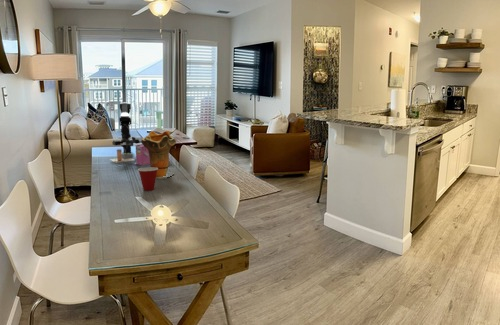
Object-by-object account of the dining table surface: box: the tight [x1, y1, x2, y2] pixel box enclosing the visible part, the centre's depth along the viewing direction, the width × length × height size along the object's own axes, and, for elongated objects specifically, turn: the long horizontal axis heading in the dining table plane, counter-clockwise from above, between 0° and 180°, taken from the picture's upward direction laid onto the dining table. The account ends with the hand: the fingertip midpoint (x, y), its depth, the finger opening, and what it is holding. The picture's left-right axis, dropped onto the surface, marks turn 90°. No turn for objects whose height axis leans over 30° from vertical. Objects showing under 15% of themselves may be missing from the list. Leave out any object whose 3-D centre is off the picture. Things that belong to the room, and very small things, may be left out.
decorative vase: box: [140, 130, 177, 180], centre depth 246 cm, size 21×23×28 cm
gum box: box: [135, 143, 151, 166], centre depth 285 cm, size 24×8×14 cm, turn 135°
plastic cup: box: [137, 166, 158, 192], centre depth 217 cm, size 11×11×12 cm
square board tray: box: [108, 152, 136, 164], centre depth 290 cm, size 16×16×4 cm
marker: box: [116, 148, 123, 161], centre depth 285 cm, size 3×3×8 cm
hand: (126, 153), depth 297 cm, fingers closed, pressing on done button
